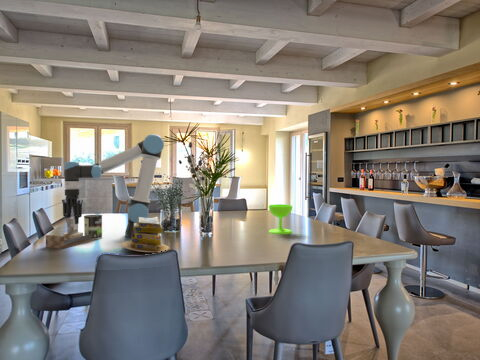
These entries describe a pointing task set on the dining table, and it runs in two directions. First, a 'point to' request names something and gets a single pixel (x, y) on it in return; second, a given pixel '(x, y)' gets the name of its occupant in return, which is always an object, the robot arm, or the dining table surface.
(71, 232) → the press ram
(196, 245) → the dining table surface
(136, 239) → the stacked food plate
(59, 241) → the press bed
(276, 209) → the wineglass
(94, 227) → the coffee can
